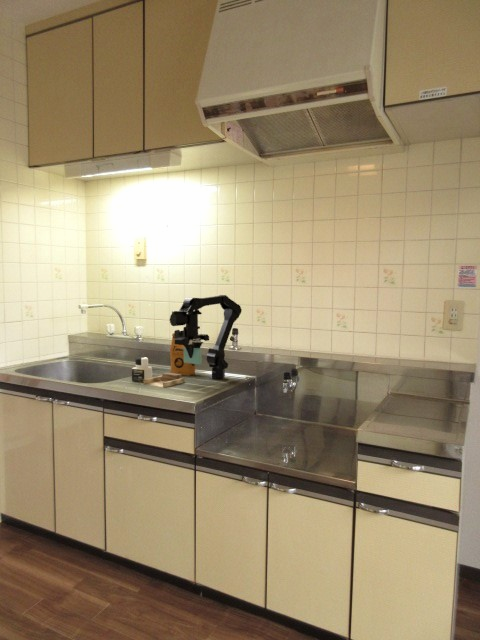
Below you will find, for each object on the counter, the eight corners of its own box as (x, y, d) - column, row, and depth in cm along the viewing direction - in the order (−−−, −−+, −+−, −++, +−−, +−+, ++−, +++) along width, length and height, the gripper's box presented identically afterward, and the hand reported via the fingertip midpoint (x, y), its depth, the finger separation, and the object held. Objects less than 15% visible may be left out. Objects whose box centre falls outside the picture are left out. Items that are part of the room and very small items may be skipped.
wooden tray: (164, 381, 226) (164, 375, 226) (184, 384, 219) (184, 377, 218) (144, 386, 215) (144, 379, 215) (164, 389, 207) (164, 382, 207)
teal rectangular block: (187, 361, 221) (186, 347, 221) (201, 363, 216) (201, 348, 215) (183, 362, 219) (183, 347, 219) (198, 364, 214) (198, 349, 213)
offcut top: (167, 376, 224) (167, 372, 223) (181, 378, 219) (180, 374, 219) (162, 377, 221) (162, 373, 220) (176, 379, 216) (176, 375, 216)
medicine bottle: (131, 382, 222) (131, 358, 221) (140, 380, 229) (139, 355, 228) (144, 384, 219) (143, 358, 218) (152, 381, 226) (152, 356, 225)
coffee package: (188, 378, 232) (188, 334, 231) (167, 376, 237) (167, 333, 236) (198, 374, 242) (198, 332, 240) (177, 373, 247) (177, 332, 245)
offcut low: (166, 379, 224) (166, 376, 224) (180, 381, 219) (180, 378, 219) (161, 381, 221) (161, 377, 221) (175, 383, 216) (175, 379, 216)
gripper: (191, 322, 228) (192, 353, 230) (165, 325, 213) (166, 359, 214) (209, 323, 222) (210, 355, 223) (183, 326, 207) (184, 361, 208)
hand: (192, 357), depth 217 cm, fingers closed on teal rectangular block, 2 cm apart
